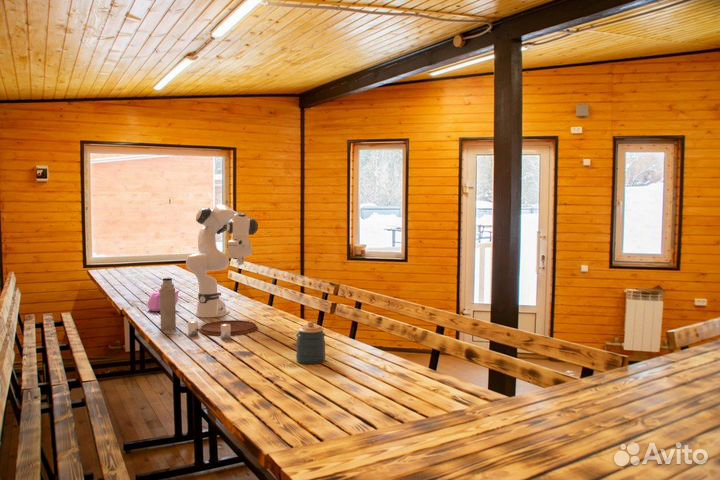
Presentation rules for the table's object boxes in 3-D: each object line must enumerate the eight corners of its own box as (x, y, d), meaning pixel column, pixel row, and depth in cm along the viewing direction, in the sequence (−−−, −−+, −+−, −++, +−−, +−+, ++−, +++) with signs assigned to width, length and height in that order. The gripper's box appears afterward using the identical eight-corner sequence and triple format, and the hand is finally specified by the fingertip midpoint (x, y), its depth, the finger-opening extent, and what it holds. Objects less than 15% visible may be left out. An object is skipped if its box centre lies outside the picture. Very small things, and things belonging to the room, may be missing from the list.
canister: (310, 355, 256) (310, 317, 255) (331, 360, 248) (331, 320, 247) (290, 361, 246) (289, 321, 245) (311, 366, 238) (311, 325, 237)
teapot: (175, 313, 356) (175, 291, 355) (141, 313, 356) (141, 291, 355) (186, 307, 377) (186, 286, 377) (154, 307, 378) (154, 286, 377)
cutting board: (243, 338, 290) (243, 333, 290) (187, 335, 297) (187, 330, 297) (266, 325, 321) (266, 321, 321) (215, 323, 328) (215, 318, 328)
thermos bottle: (164, 326, 317) (163, 277, 315) (178, 326, 316) (177, 277, 314) (158, 329, 309) (157, 279, 307) (172, 329, 308) (171, 279, 307)
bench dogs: (192, 333, 298) (192, 320, 298) (232, 337, 290) (232, 324, 289) (186, 335, 294) (186, 322, 293) (227, 339, 285) (227, 326, 285)
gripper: (245, 239, 337) (245, 262, 338) (226, 241, 318) (226, 266, 318) (254, 240, 335) (255, 263, 335) (236, 242, 315) (236, 266, 316)
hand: (241, 264), depth 327 cm, fingers closed
